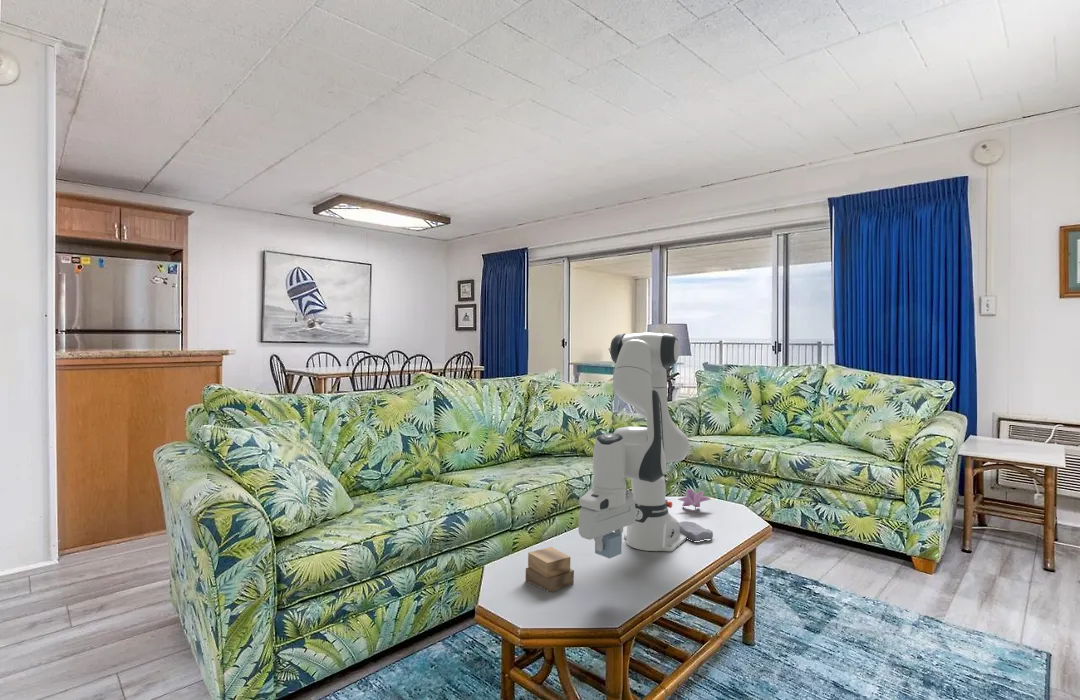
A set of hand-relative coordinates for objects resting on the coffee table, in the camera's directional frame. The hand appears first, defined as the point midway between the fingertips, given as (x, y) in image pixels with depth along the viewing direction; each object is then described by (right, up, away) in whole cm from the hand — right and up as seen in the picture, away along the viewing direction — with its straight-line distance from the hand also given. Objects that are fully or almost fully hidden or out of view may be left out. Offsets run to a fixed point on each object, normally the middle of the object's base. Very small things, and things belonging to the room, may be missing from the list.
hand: (608, 547), depth 150 cm
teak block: (-16, -9, +7) cm, 19 cm away
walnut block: (-16, -13, +7) cm, 21 cm away
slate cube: (0, -2, 0) cm, 2 cm away
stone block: (+36, -13, +47) cm, 61 cm away
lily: (+44, -13, +77) cm, 89 cm away
